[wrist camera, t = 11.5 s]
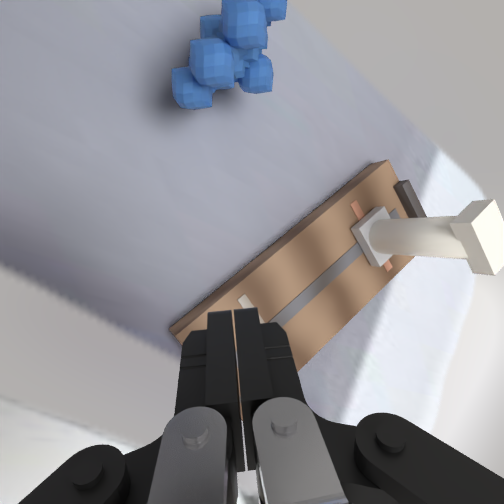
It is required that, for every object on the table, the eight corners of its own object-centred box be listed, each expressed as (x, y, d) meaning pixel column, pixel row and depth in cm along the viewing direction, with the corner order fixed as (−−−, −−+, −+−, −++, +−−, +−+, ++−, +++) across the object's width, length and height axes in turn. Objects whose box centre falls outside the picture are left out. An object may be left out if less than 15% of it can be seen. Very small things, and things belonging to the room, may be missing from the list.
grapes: (201, 165, 32) (264, 129, 21) (134, 107, 30) (166, 33, 19) (276, 68, 35) (366, -9, 24) (219, 7, 32) (291, -110, 21)
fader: (371, 265, 37) (491, 279, 26) (350, 228, 36) (467, 226, 25) (394, 243, 38) (519, 247, 27) (375, 206, 37) (497, 196, 26)
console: (234, 411, 34) (250, 430, 31) (168, 328, 32) (179, 339, 28) (411, 241, 42) (439, 242, 39) (371, 163, 40) (397, 157, 36)
